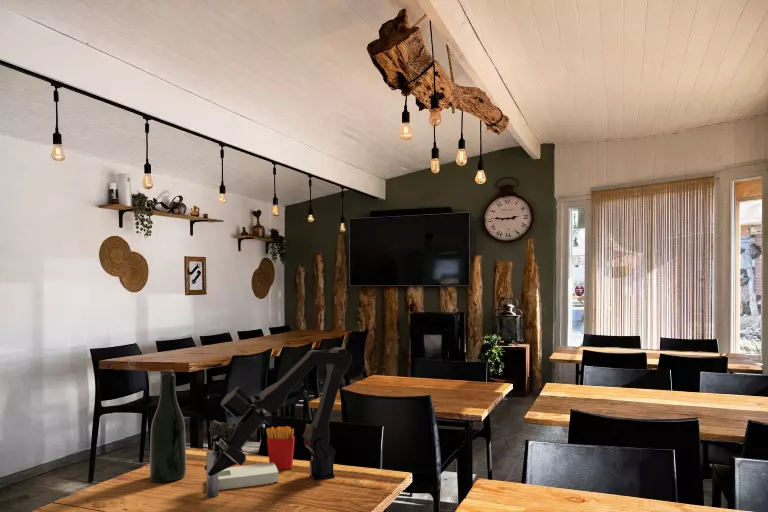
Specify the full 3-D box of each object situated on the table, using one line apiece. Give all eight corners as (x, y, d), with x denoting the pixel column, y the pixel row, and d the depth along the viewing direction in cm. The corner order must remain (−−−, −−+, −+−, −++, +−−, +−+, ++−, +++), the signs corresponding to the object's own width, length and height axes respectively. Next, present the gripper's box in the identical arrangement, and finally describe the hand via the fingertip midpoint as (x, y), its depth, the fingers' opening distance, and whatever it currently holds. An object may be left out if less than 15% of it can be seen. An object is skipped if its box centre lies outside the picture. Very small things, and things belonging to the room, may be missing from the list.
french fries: (295, 465, 186) (295, 424, 186) (292, 469, 182) (292, 428, 182) (268, 465, 187) (267, 424, 187) (264, 469, 182) (264, 428, 183)
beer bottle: (190, 471, 182) (190, 366, 183) (179, 483, 171) (179, 371, 173) (157, 472, 181) (157, 367, 183) (144, 484, 171) (144, 372, 172)
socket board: (274, 472, 179) (274, 462, 180) (278, 482, 170) (278, 472, 170) (211, 479, 173) (211, 469, 174) (212, 490, 164) (212, 480, 164)
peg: (218, 492, 162) (218, 450, 163) (218, 496, 159) (218, 453, 160) (206, 494, 161) (206, 451, 162) (206, 498, 158) (206, 454, 159)
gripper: (219, 404, 171) (181, 446, 166) (233, 416, 155) (191, 464, 149) (245, 427, 175) (209, 469, 169) (262, 441, 158) (222, 489, 153)
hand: (207, 472), depth 160 cm, fingers open, 5 cm apart
